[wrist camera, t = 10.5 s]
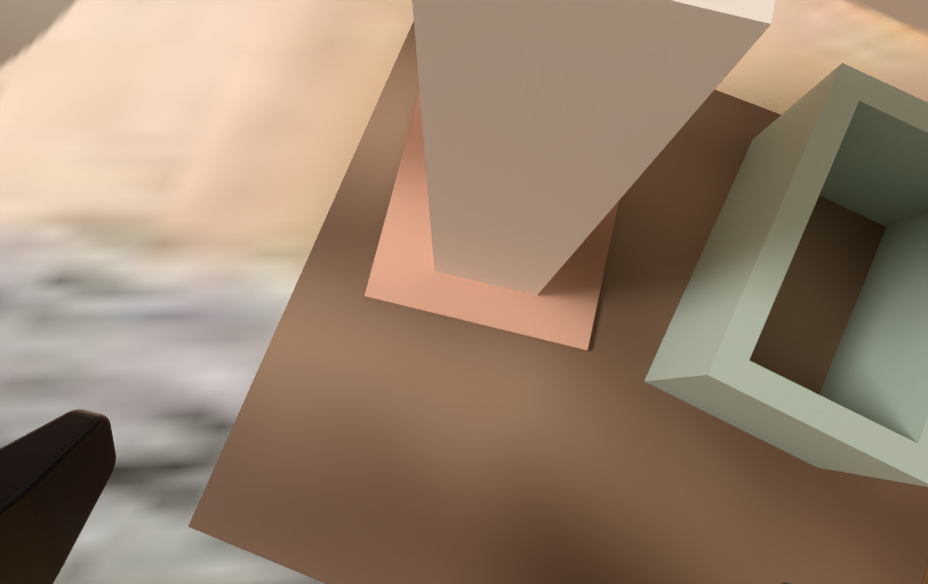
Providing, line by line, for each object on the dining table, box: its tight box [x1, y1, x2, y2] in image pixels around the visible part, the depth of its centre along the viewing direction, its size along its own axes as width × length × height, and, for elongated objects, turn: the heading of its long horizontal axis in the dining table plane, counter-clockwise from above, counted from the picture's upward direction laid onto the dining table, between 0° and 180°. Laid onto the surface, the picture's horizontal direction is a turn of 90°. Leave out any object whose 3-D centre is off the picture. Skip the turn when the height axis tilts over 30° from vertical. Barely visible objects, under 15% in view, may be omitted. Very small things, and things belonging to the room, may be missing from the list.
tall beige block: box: [412, 0, 775, 295], centre depth 11 cm, size 5×3×12 cm, turn 167°
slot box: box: [644, 63, 928, 487], centre depth 15 cm, size 7×5×4 cm, turn 154°
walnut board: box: [188, 22, 928, 584], centre depth 17 cm, size 15×16×1 cm
